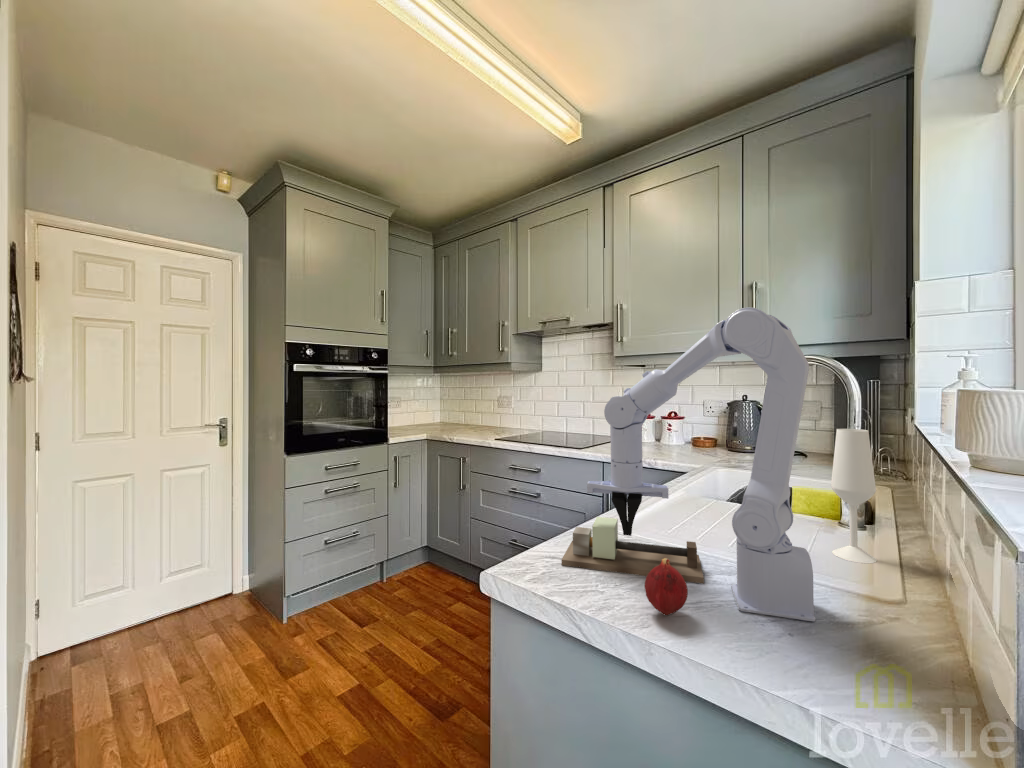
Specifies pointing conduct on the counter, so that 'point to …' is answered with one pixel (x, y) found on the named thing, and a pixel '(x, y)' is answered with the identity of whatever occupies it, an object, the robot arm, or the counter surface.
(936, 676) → the counter surface
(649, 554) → the cord board
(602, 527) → the sleeve
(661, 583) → the onion
